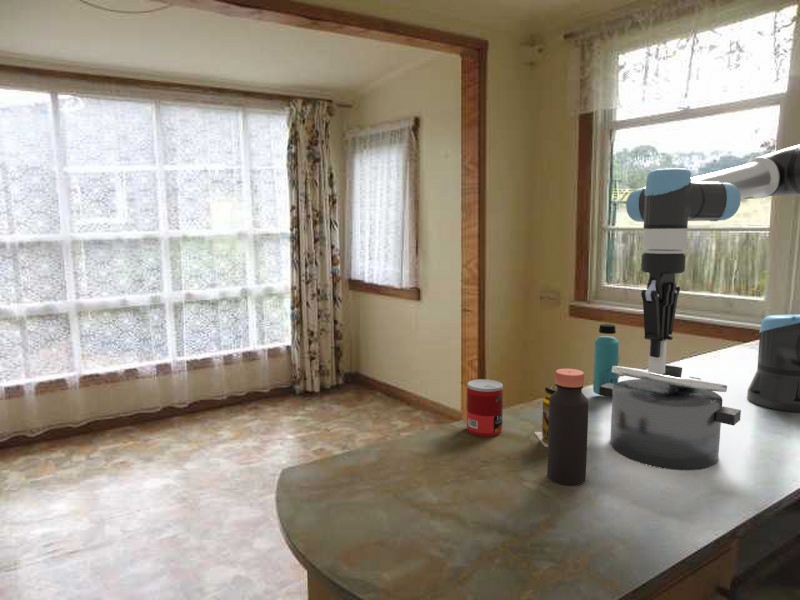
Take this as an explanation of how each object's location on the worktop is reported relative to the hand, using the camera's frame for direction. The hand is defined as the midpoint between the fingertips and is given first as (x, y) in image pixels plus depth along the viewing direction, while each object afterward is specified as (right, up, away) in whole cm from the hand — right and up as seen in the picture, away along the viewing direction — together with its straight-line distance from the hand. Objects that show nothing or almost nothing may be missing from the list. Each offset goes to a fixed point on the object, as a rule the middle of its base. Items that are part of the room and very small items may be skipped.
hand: (656, 372), depth 105 cm
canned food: (-31, -16, +16) cm, 39 cm away
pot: (+4, -17, +5) cm, 18 cm away
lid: (+4, -3, +4) cm, 6 cm away
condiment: (-17, -16, +11) cm, 26 cm away
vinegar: (-20, -19, -7) cm, 28 cm away
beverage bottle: (+5, -12, +39) cm, 41 cm away
